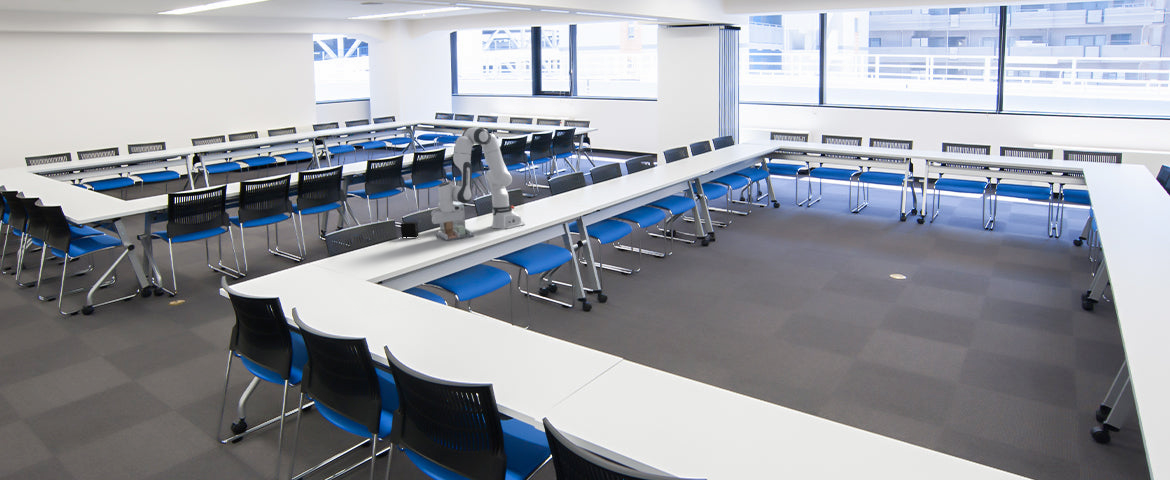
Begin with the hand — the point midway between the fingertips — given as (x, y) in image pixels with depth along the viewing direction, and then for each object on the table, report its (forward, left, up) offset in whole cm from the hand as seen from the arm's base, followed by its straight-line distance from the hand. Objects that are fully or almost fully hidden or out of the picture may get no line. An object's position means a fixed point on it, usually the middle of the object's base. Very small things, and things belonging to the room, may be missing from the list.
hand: (448, 228), depth 490 cm
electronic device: (+21, -16, -6) cm, 27 cm away
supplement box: (-10, -21, -6) cm, 24 cm away
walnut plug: (0, 0, -3) cm, 3 cm away
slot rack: (-4, 0, -6) cm, 7 cm away
